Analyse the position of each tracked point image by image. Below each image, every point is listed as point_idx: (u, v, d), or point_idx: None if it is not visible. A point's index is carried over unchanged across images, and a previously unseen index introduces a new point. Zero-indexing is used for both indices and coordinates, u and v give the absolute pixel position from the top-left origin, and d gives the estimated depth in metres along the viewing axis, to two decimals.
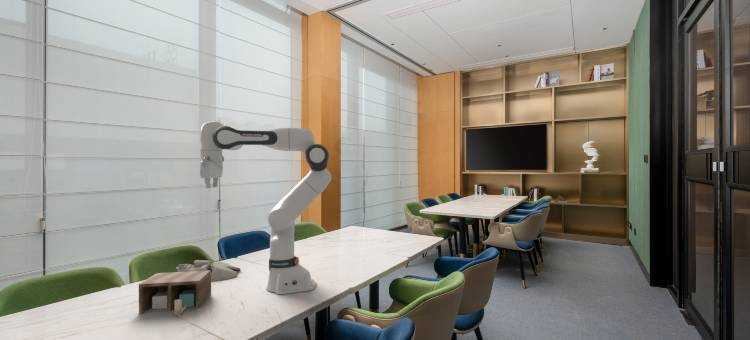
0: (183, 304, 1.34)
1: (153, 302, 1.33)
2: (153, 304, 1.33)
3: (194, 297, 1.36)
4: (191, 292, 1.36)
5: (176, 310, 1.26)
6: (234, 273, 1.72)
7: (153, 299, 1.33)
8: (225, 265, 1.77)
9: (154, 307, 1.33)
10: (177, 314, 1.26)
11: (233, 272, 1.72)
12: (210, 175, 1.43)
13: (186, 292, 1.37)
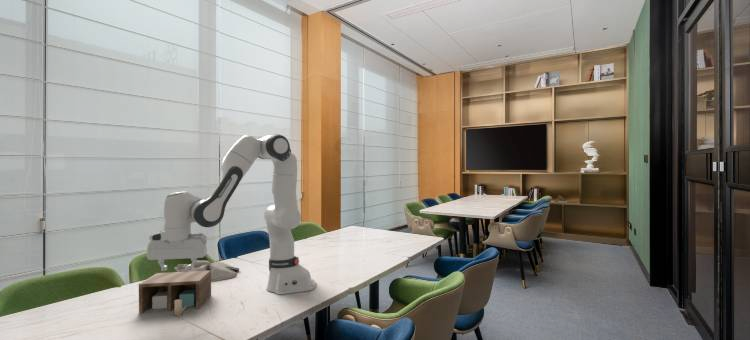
0: (183, 304, 1.34)
1: (153, 302, 1.33)
2: (153, 304, 1.33)
3: (194, 297, 1.36)
4: (191, 292, 1.36)
5: (176, 310, 1.26)
6: (233, 273, 1.72)
7: (153, 299, 1.33)
8: (224, 265, 1.76)
9: (154, 307, 1.33)
10: (177, 314, 1.26)
11: (232, 272, 1.72)
12: None
13: (186, 292, 1.37)
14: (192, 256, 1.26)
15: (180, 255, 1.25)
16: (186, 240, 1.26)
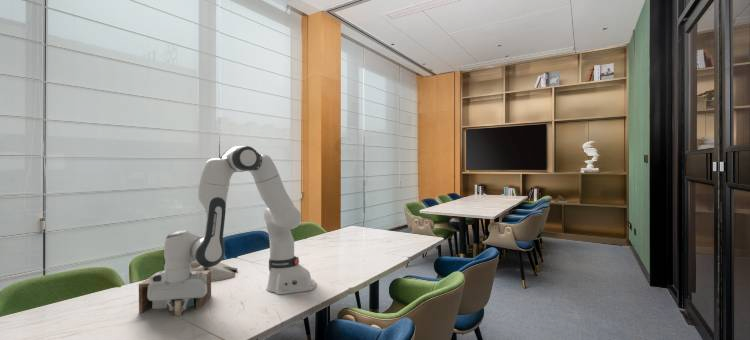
0: None
1: (153, 302, 1.33)
2: (153, 304, 1.33)
3: None
4: None
5: (176, 310, 1.26)
6: (231, 273, 1.71)
7: None
8: (222, 265, 1.76)
9: (154, 307, 1.33)
10: (177, 314, 1.26)
11: (230, 272, 1.72)
12: None
13: None
14: (192, 296, 1.26)
15: (181, 296, 1.25)
16: (186, 280, 1.26)
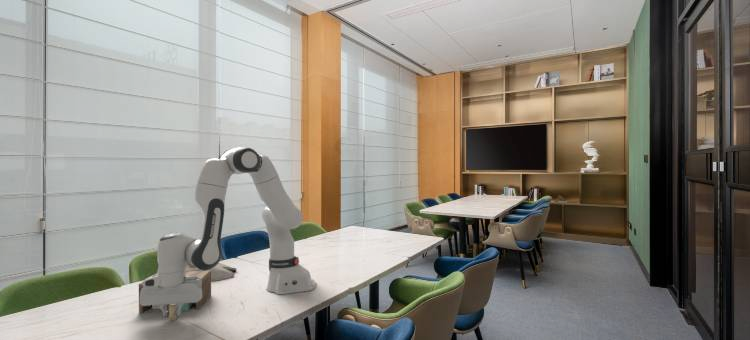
0: None
1: None
2: None
3: None
4: None
5: (170, 315, 1.21)
6: (230, 273, 1.71)
7: None
8: (221, 265, 1.76)
9: (154, 307, 1.33)
10: (171, 319, 1.21)
11: (229, 272, 1.72)
12: None
13: None
14: (187, 301, 1.21)
15: (174, 301, 1.20)
16: (180, 284, 1.21)
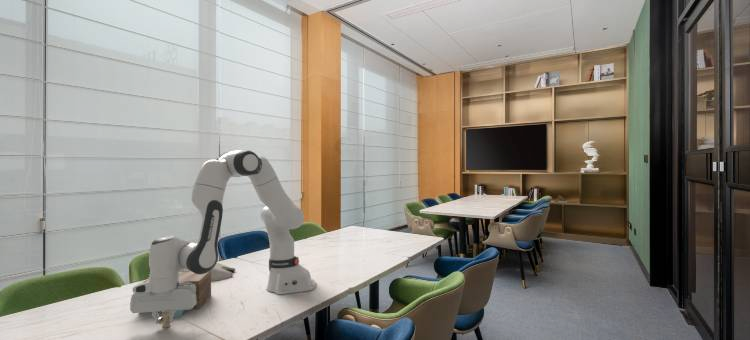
0: (169, 315, 1.25)
1: None
2: None
3: None
4: None
5: (164, 321, 1.16)
6: (229, 273, 1.71)
7: None
8: (220, 265, 1.76)
9: None
10: (166, 326, 1.16)
11: (228, 272, 1.71)
12: None
13: None
14: (180, 307, 1.15)
15: (167, 307, 1.14)
16: (173, 290, 1.15)
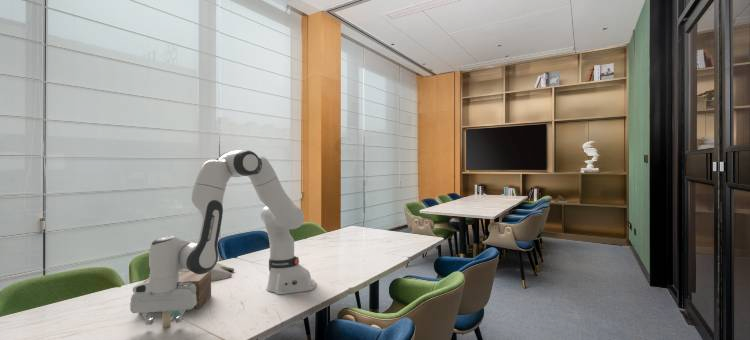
0: None
1: None
2: None
3: None
4: None
5: (165, 321, 1.16)
6: (228, 273, 1.71)
7: None
8: (218, 265, 1.76)
9: None
10: (166, 326, 1.16)
11: (227, 272, 1.71)
12: None
13: None
14: (180, 308, 1.15)
15: (167, 308, 1.14)
16: (173, 291, 1.15)
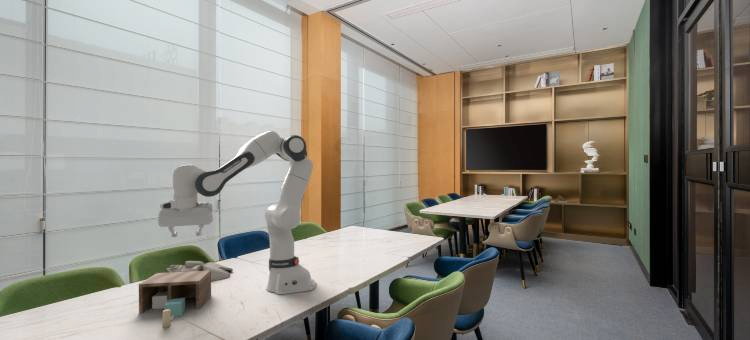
0: None
1: (153, 302, 1.33)
2: (153, 304, 1.33)
3: (181, 306, 1.27)
4: (178, 301, 1.27)
5: (165, 321, 1.16)
6: (226, 274, 1.71)
7: (153, 299, 1.33)
8: (217, 266, 1.76)
9: (154, 307, 1.33)
10: (166, 326, 1.16)
11: (225, 273, 1.71)
12: None
13: (172, 301, 1.27)
14: (200, 222, 1.38)
15: (189, 222, 1.37)
16: (194, 208, 1.38)
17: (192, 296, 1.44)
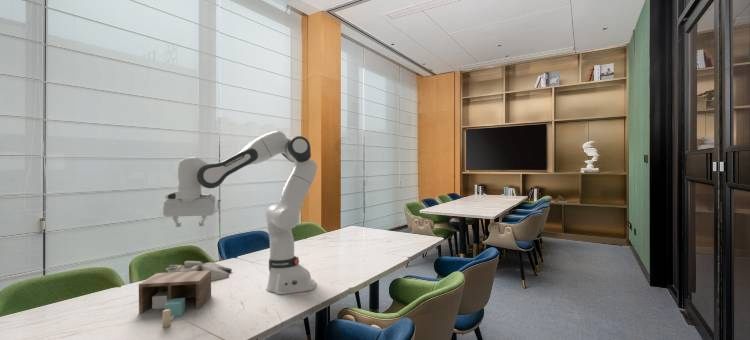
0: None
1: (153, 302, 1.33)
2: (153, 304, 1.33)
3: (181, 306, 1.27)
4: (178, 301, 1.27)
5: (165, 321, 1.16)
6: (225, 274, 1.71)
7: (153, 299, 1.33)
8: (216, 266, 1.76)
9: (154, 307, 1.33)
10: (166, 326, 1.16)
11: (224, 273, 1.71)
12: None
13: (172, 301, 1.27)
14: (203, 213, 1.43)
15: (192, 213, 1.42)
16: (197, 199, 1.43)
17: (192, 296, 1.44)
